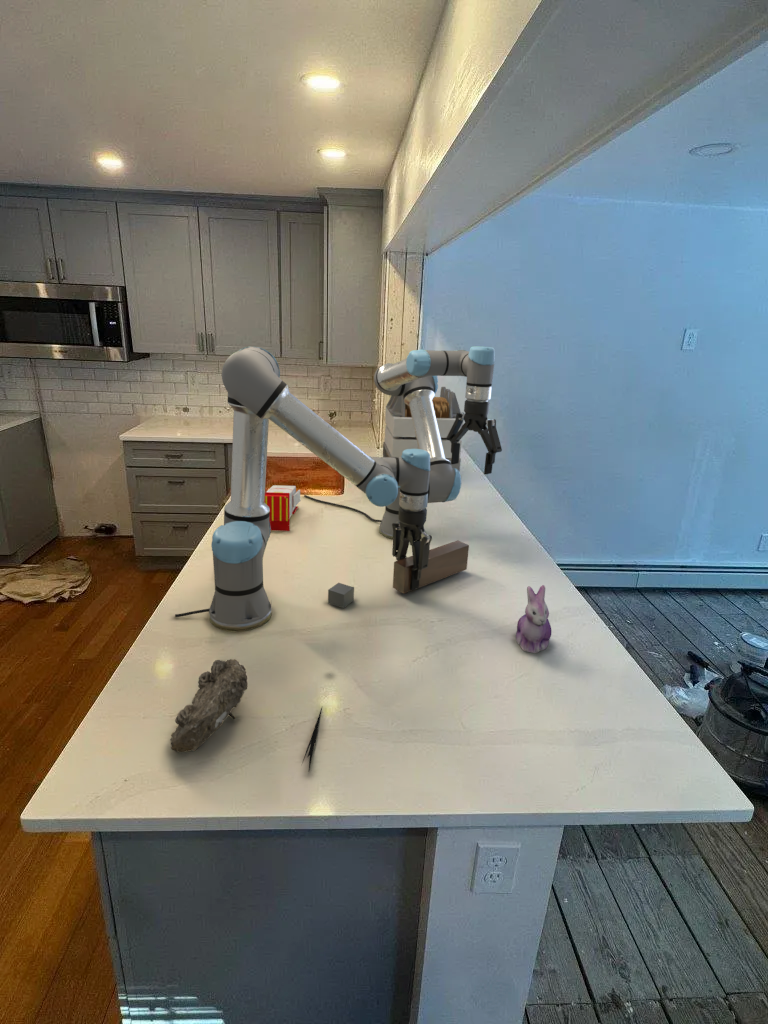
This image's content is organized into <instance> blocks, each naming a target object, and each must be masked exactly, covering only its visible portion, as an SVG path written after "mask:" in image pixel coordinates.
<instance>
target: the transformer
mask: <svg viewBox="0 0 768 1024" xmlns="http://www.w3.org/2000/svg"><path fill="white" fill-rule="evenodd" d="M432 403H433V407H434V411H435V416H436V420H437V425H438V429H439V433H440V438H441V442H442V446H443V451H444V455H445V458H446V459H447V460H449V461H450V462H451V458H452V453H451V442H450V441H449V440H447V436H448V434H449V432H450V430H451V428H452V426H453V424H454V422H455V420H456V414H457V413H462V411H461V408H460V405H459V402H458V398H457V395H456V392H454V391H451V389H450V388H446V386H441V387H440V394H439V396H435V397H434V398H433V400H432ZM384 414H385V416H384V424H385V425H384V426H385V427H384V440H383V441H382V442H383V443H382V457H389V458H398V457H401V455H402V452H403V451H404V450H406V449H419V448H418V443H417V439H416V434H415V430H414V425H413V420H412V416H411V411H410V407H409V405H407V404H405V402H404V398H403V396H390V398H389V400H388V402H387V403H386V405H385V413H384ZM464 422H465V421H464V420H463V423H462V424H461V426H460V428H459V430H460V429H461V427H462V425H463V424H464ZM459 430H458V431H459ZM457 443H460V452H459V463H457V464H451V466H452V468H456V469H457V470H458V471H459V472H461V471H460V470H461V462H462V458H461V452H462V443H463V442H462V439H460V440H459V442H457Z"/></svg>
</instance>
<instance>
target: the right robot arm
mask: <svg viewBox="0 0 768 1024" xmlns="http://www.w3.org/2000/svg"><path fill="white" fill-rule="evenodd" d="M495 355H496V349H495V348H494V347H492V346H482V345H473V346H470V348H469V350H466V349H455V350H431V349H427V350H426V349H413V350H410V351H409V353H408V355H407V356H406V358H404V359H401V360H400V361H396V362H394V363H392V362H391V363H390V362H389V363H384V364H382V365H380V366H379V367H378V368H377V369H376V370H375V372H374V374H373V375H374V376H373V382H374V385H375V387H376V388H377V390H378V391H379V392H381V393H382V394H384V395H387V396H389V397H391V396H403V398H404V402H405V404H407V405H409V407H410V411H411V416H412V420H413V425H414V430H415V434H416V439H417V443H418V448H419V449H421V450H425V451H427V452H428V453H429V454H430V476H429V488H428V504H433V503H447V502H451V501H455V500H457V498H458V497H459V494H460V492H461V487H462V476H461V473H460V472H461V471H460V472H459V471H458V470H457V469H456V468H452V466H451V464H457V463H459V452H460V443H457V442H459V440H462V438H463V437H464V436H465V435H466V434H467V433H468V431H470V432H471V431H473V432H475V433H477V434H478V435H480V437H481V440H482V441H483V443H484V446H485V448H486V450H487V452H485V461H484V468H483V469H484V471H483V475H490V474H493V473H492V472H493V464H495V463H496V454H497V453H501V452H502V451H503V448H502V444H501V441H500V437H499V433H498V430H497V419H495V418H492V419H488V415H489V413H490V407H491V403H490V400H491V398H492V385H493V378H494V376H493V375H494V371H495V370H494V369H495V364H496V363H495V362H496V360H495V357H496V356H495ZM438 377H466V384H465V385H466V386H465V395H464V396H465V397H464V399H465V400H464V406H463V411H461V413H457V414H456V420H455V422H454V424H453V426H452V428H451V430H450V432H449V434H448V436H447V440H449V441H450V442H451V453H452V458H451V462H450V461H449V460H447V459H446V458H445V455H444V451H443V446H442V442H441V438H440V433H439V429H438V425H437V420H436V416H435V411H434V407H433V403H432V400H433V398H434V397H436V394H437V392H438V388H439V384H438V383H439V378H438ZM463 420H464V421H463ZM462 423H463V425H462V427H461V429H460V430H459V428H460V426H461V424H462ZM458 430H459V431H458ZM303 498H307V499H309V500H311V501H314V502H318V503H321V504H326V505H331V506H336V507H338V508H344V509H347V510H351V511H354V512H357V513H359V514H361V515H363V516H364V517H366V518H367V519H368V520H370V521H371V522H375V523H379V526H378V533H379V534H380V535H381V536H382V537H385V538H387V539H389V540H393V527H392V524H393V523H396V522H400V521H399V519H398V517H399V507H400V505H399V502H400V486H398V495H397V498H396V499H395V501H394V502H393V503H391V504H390V505H388V506H384V508H385V509H384V513H383V515H382V519H375V518H372V517H371V516H370V515H368V514H367V513H366V512H364V511H363V510H359V509H357V508H354V507H352V506H351V507H350V506H347V505H343V504H339V503H335V502H330V501H325V500H320V499H317V498H314V497H312V496H309V495H306V494H304V495H303Z"/></svg>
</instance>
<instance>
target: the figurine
mask: <svg viewBox="0 0 768 1024" xmlns="http://www.w3.org/2000/svg"><path fill="white" fill-rule="evenodd" d="M526 594H527V604H526V606H525V610H524V614H523V615H522V616H521V617H520V618H518V621H517V623H516V624H517V625H516V632H515V634H516V635H515V641H516V643H517V645H519V646H520V648H521V650H522V651H524V652H526V653H531V654H533V653H534V654H537V653H539V652H540V651H545V650H546V649H547V648H548V646H549V644H550V639H551V637H552V626H551V623H550V620H549V617H550V611H549V607H548V605H547V603H546V600H545V597H546V596H545V595H546V586H545V585H544V584H542V585H540V586H539V588H538V591H537V592H536V593H535V591H534V589H533V588H532V587H531V586H530V585H528V586H527V587H526Z"/></svg>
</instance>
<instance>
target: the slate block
mask: <svg viewBox="0 0 768 1024" xmlns="http://www.w3.org/2000/svg"><path fill="white" fill-rule="evenodd" d="M354 600H355V587H354V586H352V585H351V586H350V585H348V584H345V583H341V582H338V583H335V585H333V586H331V587H330V588H328V589H327V603H328V604H330V605H333V606H336V607H339V608H341V609H345V608H346V607H347V606H349V605H350V604H352V602H353V601H354Z"/></svg>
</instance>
